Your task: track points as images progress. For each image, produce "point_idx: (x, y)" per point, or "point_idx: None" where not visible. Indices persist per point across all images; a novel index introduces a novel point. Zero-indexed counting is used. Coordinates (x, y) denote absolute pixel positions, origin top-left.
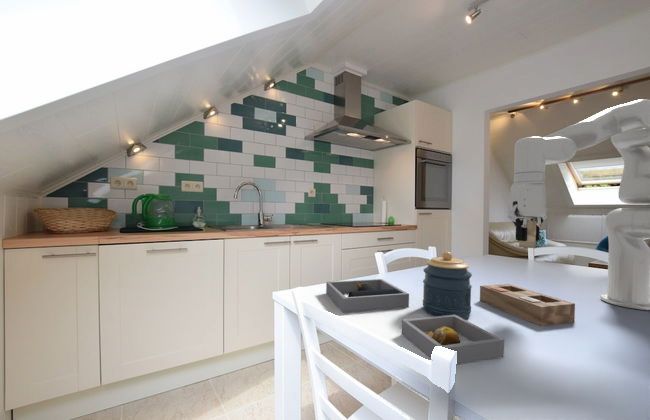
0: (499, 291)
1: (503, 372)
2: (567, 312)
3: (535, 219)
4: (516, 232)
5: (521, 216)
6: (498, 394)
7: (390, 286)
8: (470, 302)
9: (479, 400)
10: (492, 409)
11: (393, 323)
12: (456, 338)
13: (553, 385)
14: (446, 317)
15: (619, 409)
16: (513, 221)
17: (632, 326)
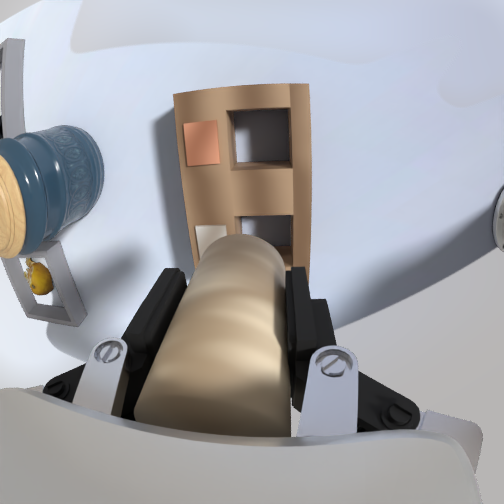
0: (188, 160)
1: (77, 329)
2: None
3: (376, 430)
4: (133, 317)
5: (186, 440)
6: (65, 342)
7: (2, 88)
8: (80, 212)
9: (54, 341)
10: (59, 348)
11: None
12: (43, 294)
13: None
14: (36, 257)
15: None
16: (58, 385)
17: (388, 295)
